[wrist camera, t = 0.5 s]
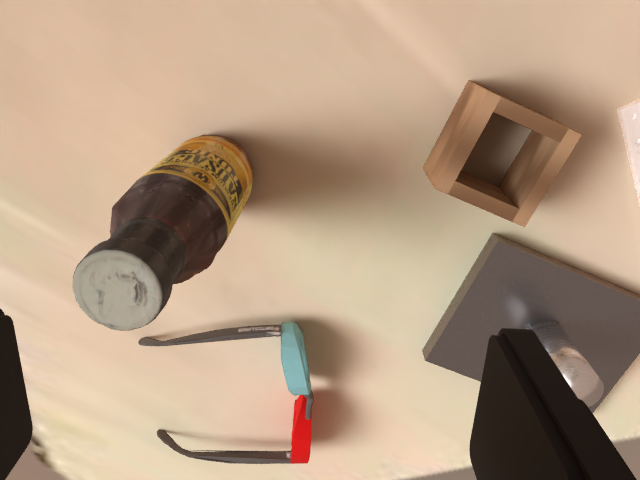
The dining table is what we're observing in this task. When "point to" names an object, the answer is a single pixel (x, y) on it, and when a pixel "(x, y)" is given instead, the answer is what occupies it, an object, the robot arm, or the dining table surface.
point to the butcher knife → (632, 137)
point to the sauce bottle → (164, 232)
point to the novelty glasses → (296, 382)
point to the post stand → (540, 318)
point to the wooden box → (524, 174)
